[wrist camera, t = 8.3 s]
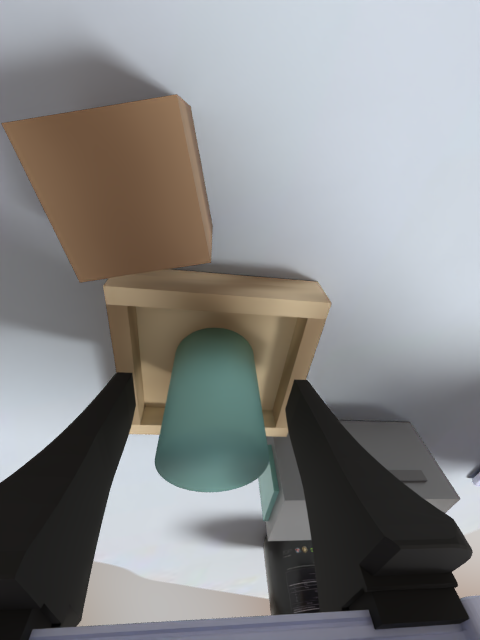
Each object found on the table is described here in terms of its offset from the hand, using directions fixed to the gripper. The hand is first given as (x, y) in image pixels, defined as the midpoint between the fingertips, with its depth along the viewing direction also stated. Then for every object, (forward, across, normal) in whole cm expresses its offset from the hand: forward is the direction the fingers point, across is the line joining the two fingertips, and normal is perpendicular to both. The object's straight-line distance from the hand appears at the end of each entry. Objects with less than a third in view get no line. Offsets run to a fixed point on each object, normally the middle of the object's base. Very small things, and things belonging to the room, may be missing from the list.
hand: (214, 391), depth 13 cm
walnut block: (+3, +3, -8) cm, 9 cm away
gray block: (+3, -9, +8) cm, 12 cm away
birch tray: (+3, 0, 0) cm, 3 cm away
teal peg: (+2, 0, 0) cm, 2 cm away
